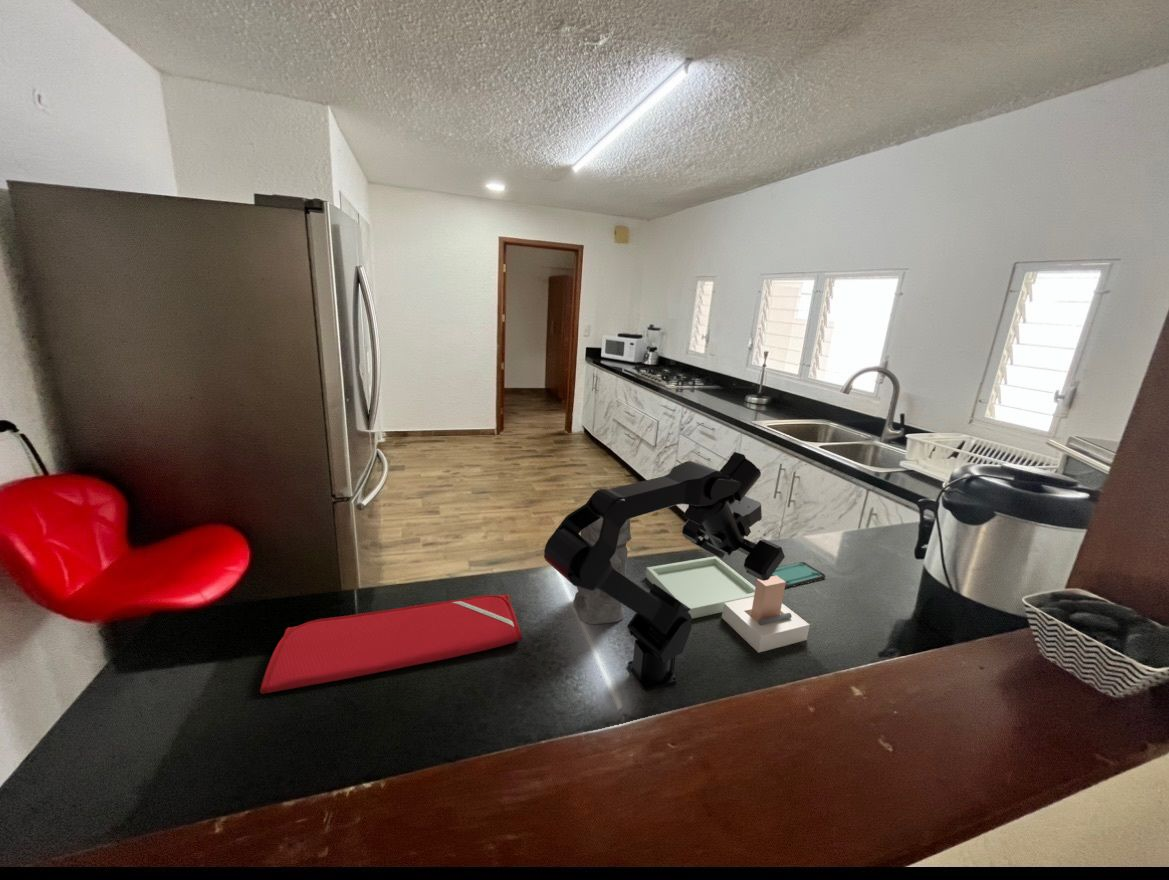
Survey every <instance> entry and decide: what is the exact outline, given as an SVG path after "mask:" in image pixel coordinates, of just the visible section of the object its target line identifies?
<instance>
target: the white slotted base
mask: <svg viewBox="0 0 1169 880" xmlns="http://www.w3.org/2000/svg"><path fill="white" fill-rule="evenodd" d="M753 599H754V597H749V598H745V599H740V600H735V601H730V602H726V603H724V606H723V612H721V618H722V619H723V620H724V621H725V622H726V623H727V624H728V625H729V626H730V627H731V628H732V629H733V630H734V631H735V632H736V633H737V634H738V635H740V637H741V638H742V639H743V640H744V641H746V643H748V644H749V645H750V646H751V647H752V648H753V649H754V650H755V651H756V652H757V653H762V652H766V651H770V650H775V649H777V648H781V647H782V648H783V647H787V646H789V645H792V644H796V643H801V642H804V641H807V640H808V634H809V631H810V625H811V624H810V623H809V622H807V621H806V620H804V619H803V618H802V617H801V616H799V615H798V614H797V613H795V611H793V610H792V609H790V608H789V607H788V606H786V605H785V604H784V603H782V606H781V611H780V615H777V616H773V617H768V618H764V619H760V620H758V623H757V622H756V621H755V620H754V619H753V618H751V611H752V605H753Z"/></svg>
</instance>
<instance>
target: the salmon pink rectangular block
mask: <svg viewBox="0 0 1169 880" xmlns="http://www.w3.org/2000/svg"><path fill="white" fill-rule="evenodd" d="M785 584H786V582H785V581H784V580H782V579H781V578H780V577H778V576H777V575H776V576H771V577H770V578H769V579H768V580H765V581H763V580H760V579H758V578H756V584H755V587H756V588H755V594H754V599H753V605H752V611H751V618H753V619H754V620H755V621H756V622H757V623H758V620H760V619H764V618H768V617H773V616H777V615H780V611H781V606H782V604H783V601H784V593H785V589H786V588H785Z"/></svg>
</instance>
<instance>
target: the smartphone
mask: <svg viewBox="0 0 1169 880" xmlns="http://www.w3.org/2000/svg"><path fill="white" fill-rule="evenodd" d="M776 575H777V576H778V577H780V578H781V579H782V580H784V581H785V582H786V584H785V589H788V588H787V587H789V588H791V587H790V586H793V587H795V586H794V585H797V586H799V585H798V584H801V585H805V584H804V583H807V584H809V583H808V582H810V583H812V582H811V581H815V580H819V581H821V580H823V579H822V578H825V579H826V574H825V573H824V572H822V571H820V570H818V569H816V568H814V567H813V566H811V565H810V564H808V563H806V562H804V561H800V562H796V563H791V564H787V565H782V566H778V567H777V569H776V570H775V571H774V573H773V574H772V575H771V576H776ZM820 579H821V580H820ZM815 582H816V581H815ZM802 583H803V584H802Z"/></svg>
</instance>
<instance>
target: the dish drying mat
mask: <svg viewBox="0 0 1169 880" xmlns="http://www.w3.org/2000/svg"><path fill="white" fill-rule="evenodd" d="M522 639H523V635H522V632H521V628H520V626H519V623H518V619H517V616H516V613H515V609H514V608H513V605H512V603H511V599H510V595H509V594H498V595H497V594H487V595H486V594H485V595H478V596H470V597H467V598H459V599H454V600H453V599H452V600H448V601H438V602H431V603H426V604H417V605H410V606H405V607H404V606H403V607H399V608H392V609H383V610H378V611H377V610H376V611H372V612H371V611H370V612H364V613H357V614H349V615H343V616H341V615H340V616H333V617H326V618H319V619H314V620H310V621H307V622H304V623H302V624H299V625H297V626H292V627H291V626H290V627H287V628H285V630H284V633H283V636H282V637H281V639H280V640H279V641H278V643H277V644H276V646H275V648H274V650H273V652H272V654H271V657H270V659H269V662H268V664H267V667H266V670H265V672H264V676H263V678H262V682H261V685H260V689H259V693H260V694H262V695H265V694H271V693H276V692H280V691H287V690H292V689H298V688H302V687H308V686H314V685H318V684H325V683H329V682H336V681H340V680H347V679H352V678H356V677H361V676H366V675H372V674H378V673H381V672H388V671H393V670H398V669H402V668H407V667H412V666H416V665H417V666H418V665H421V664H427V663H432V662H436V661H442V660H448V659H451V658H456V657H461V656H465V655H470V654H473V653H478V652H483V651H488V650H491V649H494V648H499V647H504V646H506V645H510V644H514V643H516V642H518V641H522Z"/></svg>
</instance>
